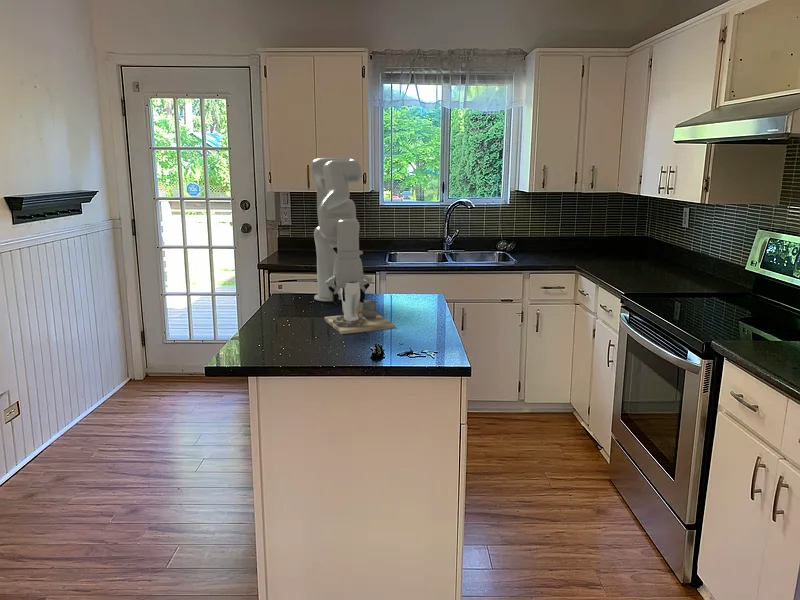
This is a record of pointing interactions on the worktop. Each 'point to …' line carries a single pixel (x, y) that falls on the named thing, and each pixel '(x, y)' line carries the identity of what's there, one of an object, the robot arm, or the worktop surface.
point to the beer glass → (351, 301)
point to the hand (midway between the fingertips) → (349, 303)
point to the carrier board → (364, 327)
